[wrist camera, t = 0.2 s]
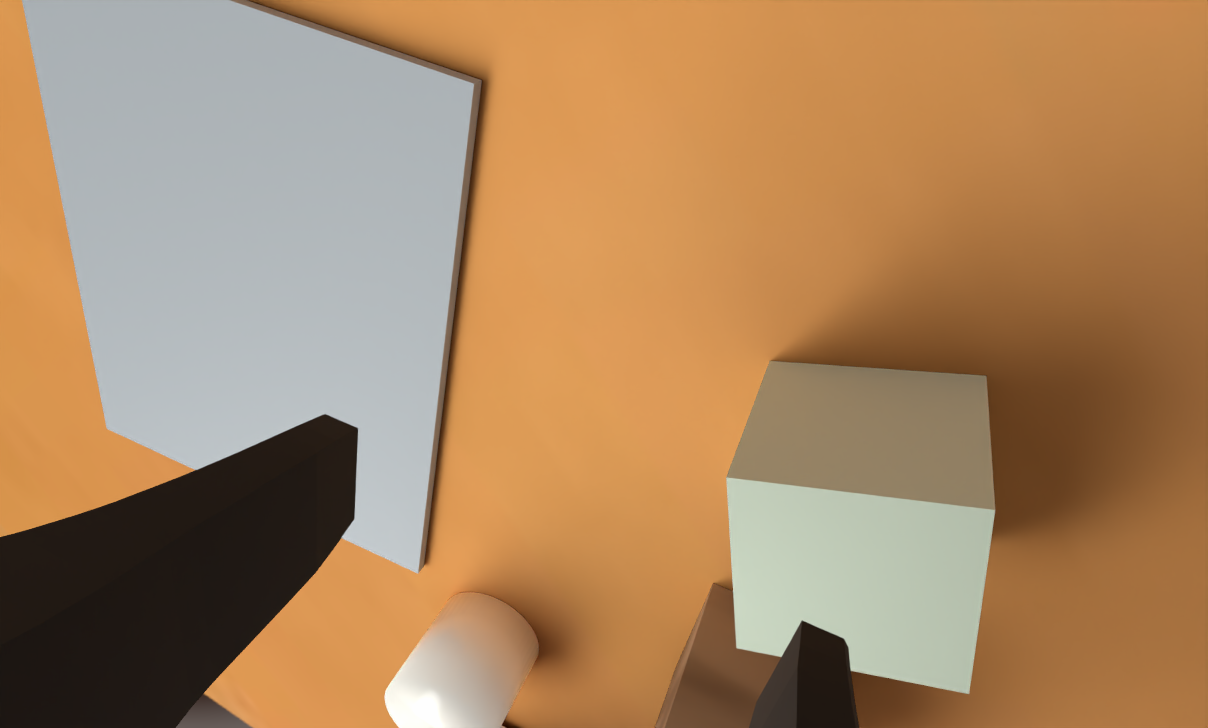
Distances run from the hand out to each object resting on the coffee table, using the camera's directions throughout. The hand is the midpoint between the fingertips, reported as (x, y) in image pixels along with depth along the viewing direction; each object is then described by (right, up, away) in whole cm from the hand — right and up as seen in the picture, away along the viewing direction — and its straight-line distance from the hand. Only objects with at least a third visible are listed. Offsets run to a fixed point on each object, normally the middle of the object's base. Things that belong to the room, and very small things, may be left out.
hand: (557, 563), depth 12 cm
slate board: (-10, +5, +14) cm, 18 cm away
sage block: (+8, +1, +9) cm, 12 cm away
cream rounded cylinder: (-4, -7, +18) cm, 20 cm away
